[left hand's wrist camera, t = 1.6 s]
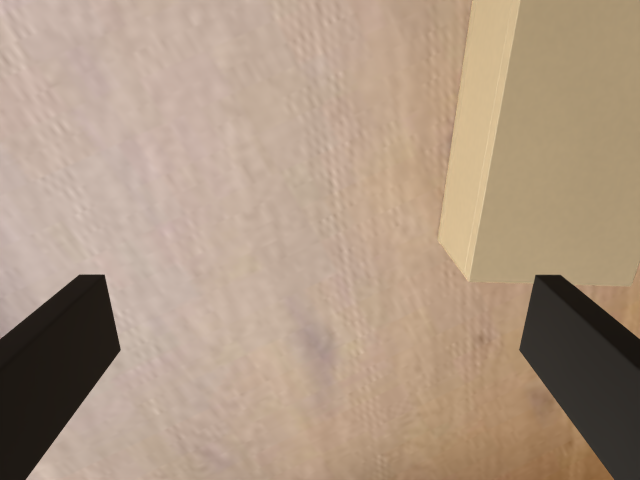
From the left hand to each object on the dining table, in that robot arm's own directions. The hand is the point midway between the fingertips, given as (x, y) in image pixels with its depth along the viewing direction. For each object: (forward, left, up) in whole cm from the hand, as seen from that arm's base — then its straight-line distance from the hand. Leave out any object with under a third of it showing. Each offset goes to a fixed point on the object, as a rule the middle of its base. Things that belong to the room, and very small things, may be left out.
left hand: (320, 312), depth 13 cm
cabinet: (+3, -16, -22) cm, 27 cm away
